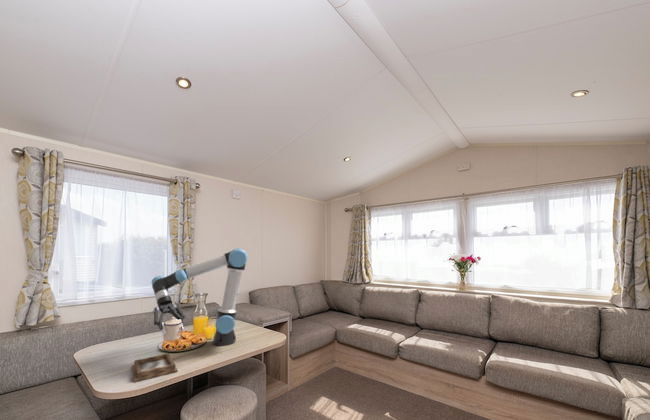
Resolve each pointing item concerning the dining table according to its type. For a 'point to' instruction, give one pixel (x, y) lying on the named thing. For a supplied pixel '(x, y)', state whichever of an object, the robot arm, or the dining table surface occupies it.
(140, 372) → the wooden serving tray
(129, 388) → the dining table surface
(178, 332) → the teacup with lid
